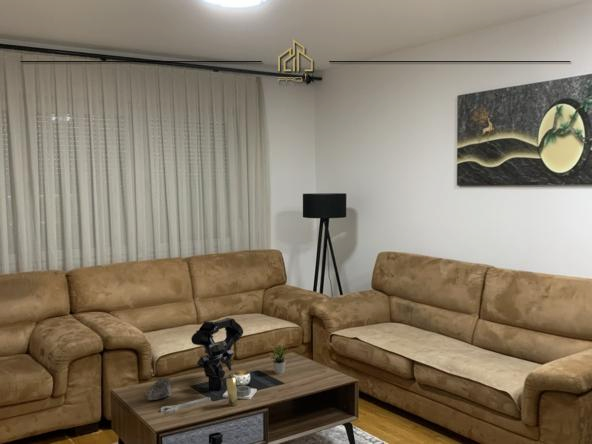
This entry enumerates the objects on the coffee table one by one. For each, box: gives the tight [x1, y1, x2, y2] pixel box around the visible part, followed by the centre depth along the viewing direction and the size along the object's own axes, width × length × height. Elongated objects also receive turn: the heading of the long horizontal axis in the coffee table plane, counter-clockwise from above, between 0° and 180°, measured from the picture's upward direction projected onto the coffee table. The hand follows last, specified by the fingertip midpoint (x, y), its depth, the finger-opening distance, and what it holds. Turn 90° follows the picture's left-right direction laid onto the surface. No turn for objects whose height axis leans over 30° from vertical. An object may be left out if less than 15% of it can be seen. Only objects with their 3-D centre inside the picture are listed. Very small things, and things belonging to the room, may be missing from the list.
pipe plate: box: [222, 385, 258, 400], centre depth 285 cm, size 14×11×4 cm
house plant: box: [268, 342, 289, 375], centre depth 318 cm, size 14×14×16 cm
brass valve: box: [225, 373, 239, 407], centre depth 272 cm, size 4×4×14 cm
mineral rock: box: [145, 376, 173, 401], centre depth 283 cm, size 13×11×10 cm
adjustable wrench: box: [160, 396, 211, 415], centre depth 271 cm, size 25×6×2 cm, turn 122°
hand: (223, 372), depth 278 cm, fingers open, 9 cm apart
